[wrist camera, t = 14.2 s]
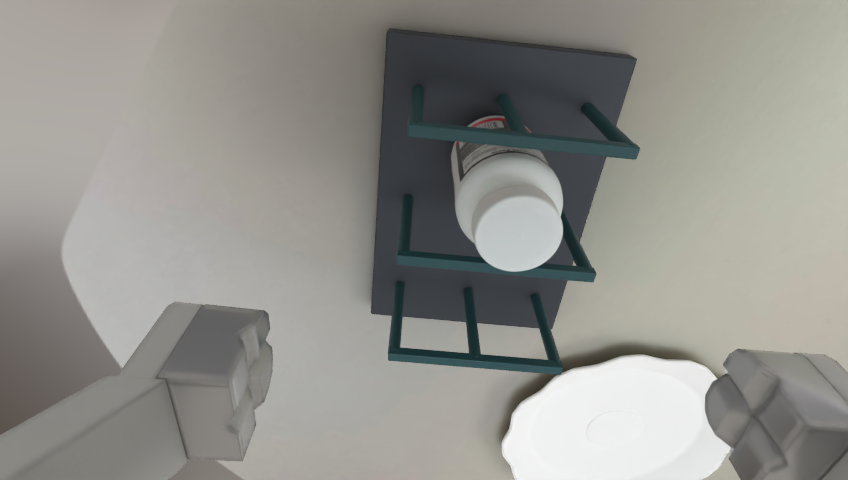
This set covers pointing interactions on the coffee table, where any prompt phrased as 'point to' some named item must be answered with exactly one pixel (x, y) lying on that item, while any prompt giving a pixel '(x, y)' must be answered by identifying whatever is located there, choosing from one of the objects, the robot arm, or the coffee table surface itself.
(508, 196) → the pill bottle
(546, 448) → the plate
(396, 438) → the coffee table surface
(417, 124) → the rack
